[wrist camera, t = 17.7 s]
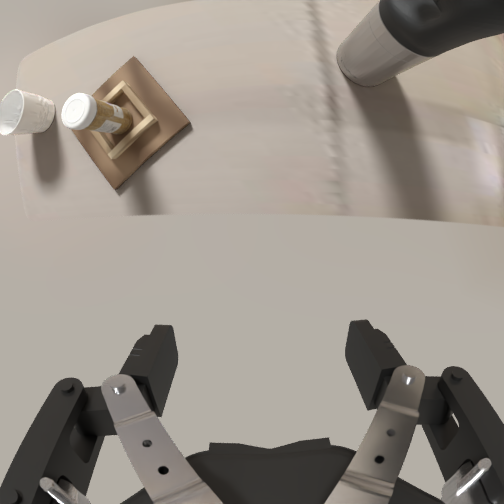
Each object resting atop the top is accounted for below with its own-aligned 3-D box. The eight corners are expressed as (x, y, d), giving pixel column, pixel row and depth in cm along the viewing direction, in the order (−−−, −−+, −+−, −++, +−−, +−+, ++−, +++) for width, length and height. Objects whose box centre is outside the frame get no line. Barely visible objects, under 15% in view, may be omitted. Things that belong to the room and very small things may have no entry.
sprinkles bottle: (134, 107, 37) (92, 90, 24) (130, 135, 38) (86, 128, 26) (110, 108, 37) (63, 94, 24) (106, 135, 38) (57, 130, 25)
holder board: (136, 58, 35) (129, 52, 32) (190, 122, 39) (186, 119, 36) (70, 123, 38) (60, 122, 35) (117, 188, 42) (108, 190, 39)
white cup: (44, 89, 36) (11, 82, 26) (64, 107, 37) (30, 100, 28) (24, 124, 37) (-9, 122, 28) (43, 143, 39) (8, 144, 29)
